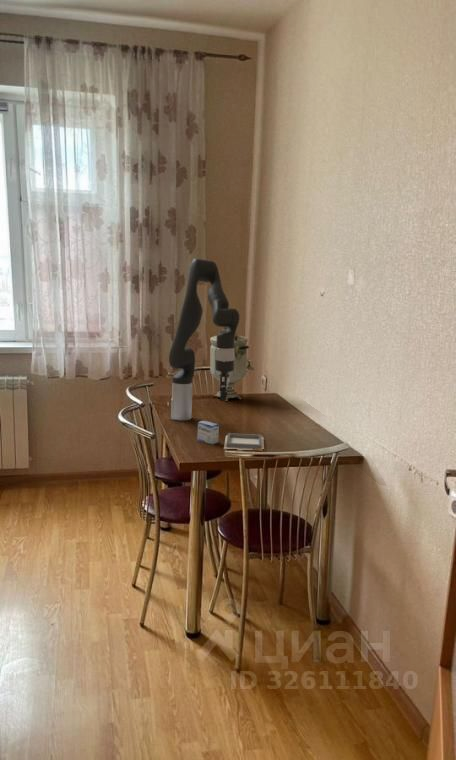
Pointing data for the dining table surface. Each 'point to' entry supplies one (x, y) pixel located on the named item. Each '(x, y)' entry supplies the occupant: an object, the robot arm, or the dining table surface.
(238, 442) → the board
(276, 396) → the dining table surface
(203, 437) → the medicine box
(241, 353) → the samovar
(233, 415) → the dining table surface
